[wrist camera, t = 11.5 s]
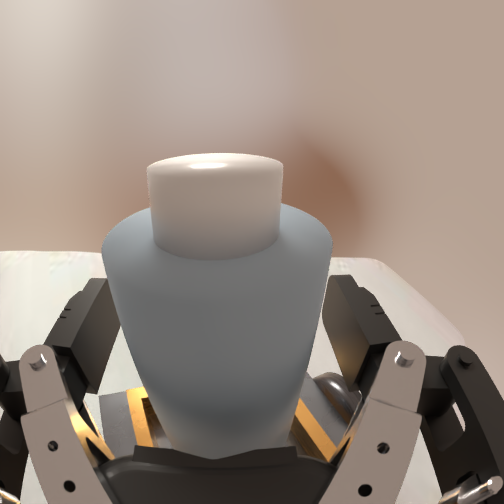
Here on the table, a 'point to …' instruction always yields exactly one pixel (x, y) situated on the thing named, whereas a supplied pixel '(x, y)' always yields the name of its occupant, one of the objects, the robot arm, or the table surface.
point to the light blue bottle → (219, 300)
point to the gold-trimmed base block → (300, 435)
